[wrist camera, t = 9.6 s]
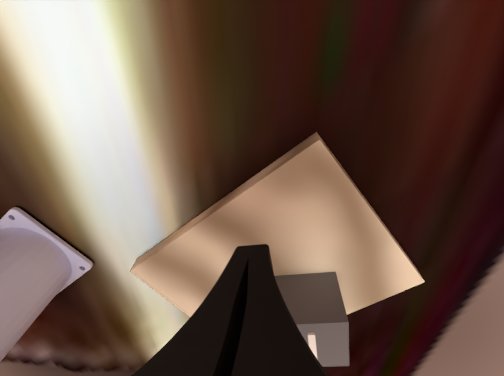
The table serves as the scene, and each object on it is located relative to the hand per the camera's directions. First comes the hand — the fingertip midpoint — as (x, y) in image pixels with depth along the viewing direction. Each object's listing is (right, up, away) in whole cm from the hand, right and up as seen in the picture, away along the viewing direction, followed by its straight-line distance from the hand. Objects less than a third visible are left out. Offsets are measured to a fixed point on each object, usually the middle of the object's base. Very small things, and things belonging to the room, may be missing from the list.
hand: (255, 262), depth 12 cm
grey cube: (+4, -6, +12) cm, 14 cm away
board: (+2, -3, +13) cm, 13 cm away
